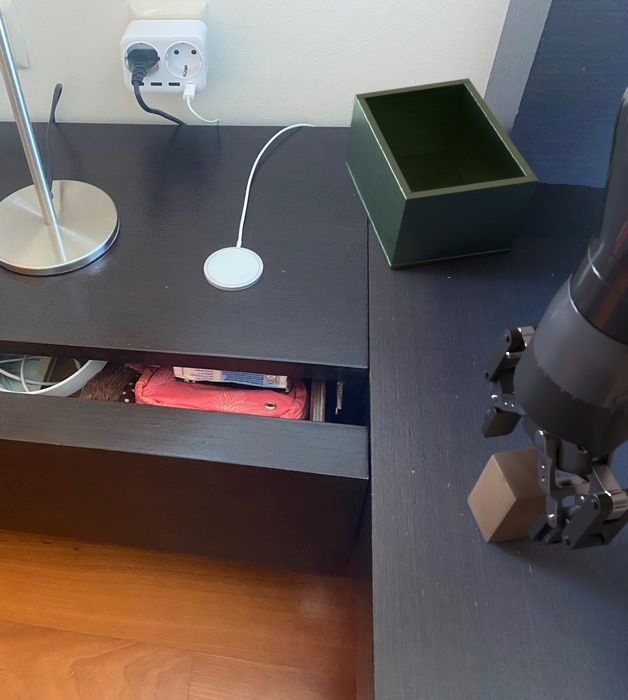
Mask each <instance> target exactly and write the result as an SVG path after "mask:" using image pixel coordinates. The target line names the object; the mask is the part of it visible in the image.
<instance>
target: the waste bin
mask: <svg viewBox="0 0 628 700" xmlns="http://www.w3.org/2000/svg"><path fill="white" fill-rule="evenodd" d="M344 166H345V168H346V170H347V173H348V175H349V178H350V180H351V183H352V185H353V187H354V189H355V192H356V195H357V196H358V199H359V201H360V203H361V205H362V208H363V210H364V212H365V214H366V217H367V219H368V222H369V224H370V226H371V229H372V231H373V233H374V236H375V238H376V240H377V243H378V245H379V248H380V250H381V252H382V254H383V257H384V259H385V261H386V264H387V266H388V268H389V270H390V271H392V270H398V269H405V268H412V267H419V266H428V265H433V264H439V263H448V262H454V261H461V260H468V259H476V258H482V257H489V256H495V255H502V254H509V253H510V251H511V248H512V246H513V243H514V241H515V239H516V237H517V233H518V231H519V228H520V226H521V224H522V221H523V218H524V216H525V215H526V212H527V209H528V207H529V204H530V201H531V199H532V196H533V194H534V191H535V189H536V187H537V184H538V182H539V179H538V177H537V176H536V175H535V173H534V172H533V170H532V169H531V167H530V166H529V164H528V163H527V162H526V160H525V158H524V157H523V156H522V154H521V153H520V151H519V149H518V148H517V147H516V145H515V144H514V143H513V141H512V140H511V138H510V137H509V135H508V133H507V132H506V131H505V129H504V128H503V126H502V125H501V124H500V122H499V121H498V119H497V117H496V116H495V115H494V113H493V112H492V110H491V109H490V107H489V106H488V104H487V103H486V101H485V100H484V98H483V97H482V96H481V93H479V91H478V90H477V88H476V87H475V86H474V83H473V82H472V80H471V79H470V78H461V79H454V80H448V81H447V80H446V81H440V82H433V83H426V84H420V85H419V84H418V85H413V86H405V87H399V88H392V89H387V90H386V89H385V90H378V91H377V90H376V91H371V92H365V93H357V94H354V99H353V106H352V113H351V119H350V127H349V135H348V142H347V150H346V158H345V164H344Z"/></svg>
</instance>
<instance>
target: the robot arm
mask: <svg viewBox="0 0 628 700" xmlns="http://www.w3.org/2000/svg"><path fill="white" fill-rule="evenodd" d="M612 132H613V133H612V139H611V147H610V154H609V161H608V168H607V174H606V179H605V186H604V193H603V200H602V201H603V202H602V203H603V204H602V210H601V217H600V221H599V223H598V225H597V226H596V228H595V230H594V231H593V233H592V235H591V237H590V238H589V240H588V242H587V244H586V246H585V248H584V249H583V251H582V253H581V255H580V257H579V259H578V261H577V263H576V264H575V266H574V268H573V269H572V272H571V273H570V275H569V276H568V278H567V279H566V280H565V281H564V283H562V285H561V287H559V288H558V291H557V292H555V294H554V296H553V297H552V299H551V301H550V303H549V304H548V306H547V308H546V310H545V312H544V314H543V316H542V318H541V319H540V322H539V323H538V324H535V325H526V326H518V327H513V328H507V329H504V330H503V331H502V332H501V335H500V337H499V338H498V341H496V343H495V345H494V348H493V349H492V351H491V353H490V355H489V357H487V360H486V362H485V364H484V366H483V367H482V377H483V379H484V382H486V383H491V384H492V388H493V390H491V391H490V392H489V401H490V405H489V406H488V408H487V411H486V413H485V414H484V420H483V423H482V425H481V428H480V430H481V432H482V435H483V437H484V438H486V439H490V438H491V439H492V438H496V437H497V438H498V437H504V436H508V435H510V434H512V433H513V432H514V430H515V428H516V427H517V425H518V424H519V422H520V420H521V418H522V422H521V425H522V427H523V429H524V431H525V433H526V434H527V436H528V437H529V439H530V440H531V442H532V445H533V446H534V448H535V450H536V453H537V455H538V486H539V488H540V489H541V490H542V491H543V492H545V493H546V511H545V512H543V513H542V514H541V515H540V517H539V518H538V519H537V520H536V522H535V523H534V524H533V525H532V526H531V528H530V529H529V530H528V534H529V536H528V537H529V538H530V541H531V542H533V543H539V544H540V546H550V545H557V544H558V545H559V544H563V546H564V547H565V549H566V550H568V551H574V550H575V551H576V550H580V549H587V548H593V547H600V546H601V547H602V546H607V545H610V543H611V542H612V541H614V539H615V538H616V537H617V536H618V534H619V533H620V532H621V531H622V530H623V528H624V527H625V526H626V525H627V524H628V487H627V488H621V486H620V485H619V483H618V481H617V480H616V478H615V476H614V475H613V473H612V472H611V470H610V468H611V467H612V465H613V461H614V456H615V451H616V450H617V449H618V448H619V447H620V446H622V445H623V444H625V443H626V442H627V441H628V86H627V87H626V89H625V91H624V92H623V94H622V97H621V99H620V102H619V104H618V107H617V111H616V116H615V120H614V126H613V131H612ZM558 471H560V472H564V473H569V474H572V475H569V476H560V478H556V472H558ZM572 496H574V505H566V506H564V499H565V498H567V497H572Z"/></svg>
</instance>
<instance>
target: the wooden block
mask: <svg viewBox="0 0 628 700" xmlns="http://www.w3.org/2000/svg"><path fill="white" fill-rule="evenodd" d="M560 477H561V475H560V474H559V472H558V471H557V472H556V478H560ZM467 505H468V506H469V507H468V508H469V509H470V511H471V514H472V515H473V518H474V520H475V522H476V524H477V526H478V528H479V530H480V532H481V535H482V537H483V539H484V542H486V543H487V544H494V543H499V542H505V541H511V540H516V539H521V538H526V537H530V536H529V534H528V530H529V529H530V528H531V526H532V525H533V524H534V523H535V522H536V520H537V519H538V518H539V517H540V515H541V514H542V513H543V512H545V511H546V493H545V492H543V491H542V490H541V489H540V488H539V486H538V455H537V453H536V450H535V448H534V445H533V446H528V447H522V448H517V449H511V450H506V451H501V452H496V453H493V454H492V455H490V458H489V460H488V461H487V463H486V465H485V467H484V469H483V471H482V472H481V474H480V476H479V477H478V480H477V481H476V483H475V485H474V487H473V489H472V490H471V492H470V494H469V496H468V497H467Z"/></svg>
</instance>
